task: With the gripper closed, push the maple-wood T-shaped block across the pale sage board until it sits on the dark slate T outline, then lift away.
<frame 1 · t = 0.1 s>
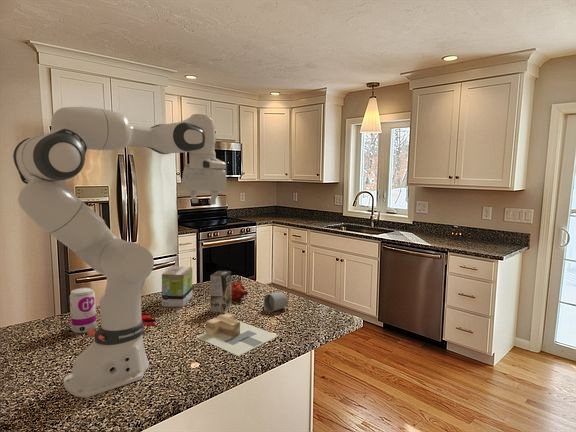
hand: (203, 203, 130), 48 cm above the worktop, tool pointing down, fingers open, 8 cm apart
maple T block: (227, 332, 138), resting on sage board
ceramic mug: (273, 309, 163), on the worktop
dragon fruit: (237, 299, 176), on the worktop
coffee box: (221, 309, 162), on the worktop
sage board: (237, 337, 134), on the worktop
supplement can: (84, 329, 140), on the worktop
cloth: (135, 320, 152), on the worktop
tea box: (178, 301, 172), on the worktop
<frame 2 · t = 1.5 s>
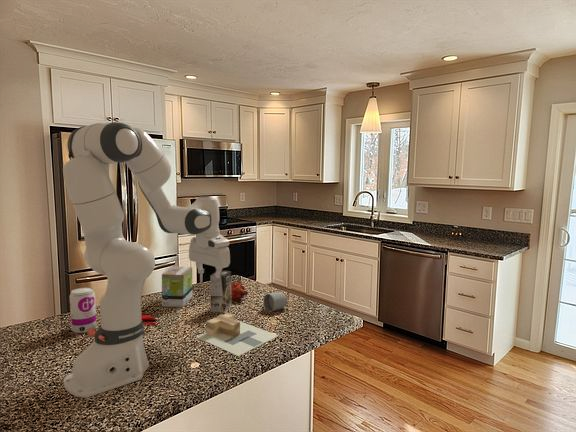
hand: (208, 275, 142), 20 cm above the worktop, tool pointing down, fingers open, 8 cm apart
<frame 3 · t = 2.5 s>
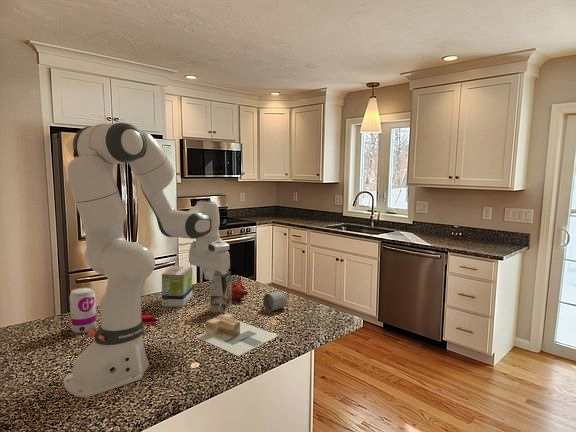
hand: (208, 279, 142), 18 cm above the worktop, tool pointing down, fingers closed
nothing on the worktop moved.
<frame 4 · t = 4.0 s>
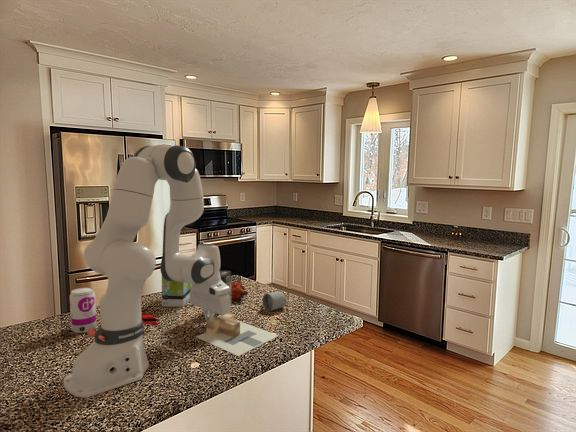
hand: (209, 320, 144), 2 cm above the worktop, tool pointing down, fingers closed
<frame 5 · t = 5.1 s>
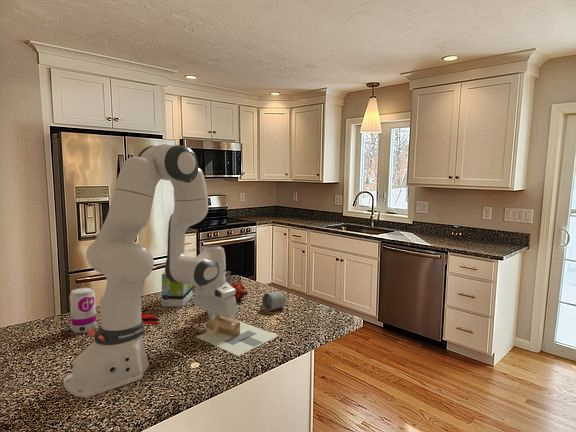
hand: (214, 323, 142), 2 cm above the worktop, tool pointing down, fingers closed
maple T block: (227, 331, 138), point 1 cm above the worktop, touching gripper, sage board
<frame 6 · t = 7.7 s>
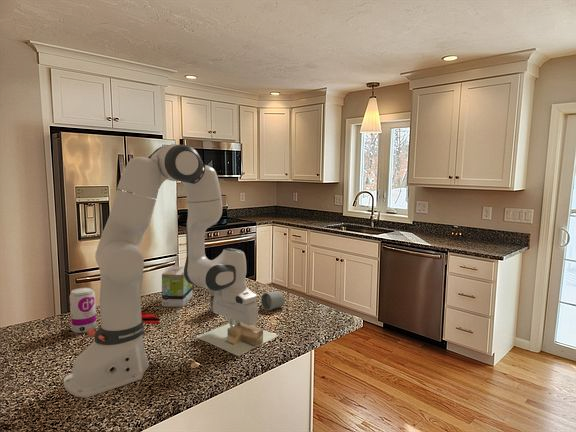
hand: (234, 330, 135), 2 cm above the worktop, tool pointing down, fingers closed
maple T block: (249, 339, 131), point 1 cm above the worktop, touching gripper, sage board
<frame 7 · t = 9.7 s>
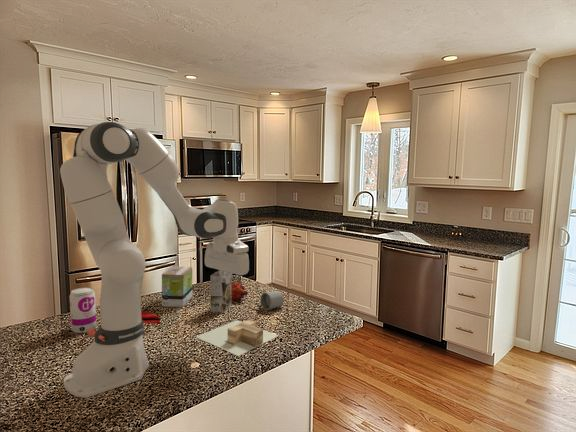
hand: (225, 282, 135), 19 cm above the worktop, tool pointing down, fingers closed
maple T block: (249, 339, 131), point 1 cm above the worktop, touching sage board
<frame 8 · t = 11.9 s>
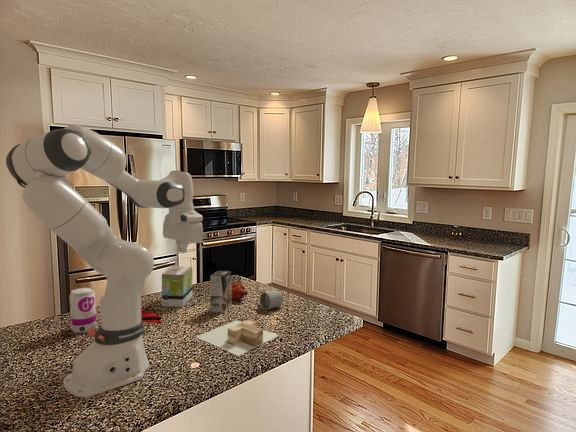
hand: (182, 252, 139), 29 cm above the worktop, tool pointing down, fingers closed
at the end: maple T block 0.6 cm from the target spot on the sage board, point 0.5 cm above the sage board's base; maple T block tilted 0°; the gripper is holding nothing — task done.
